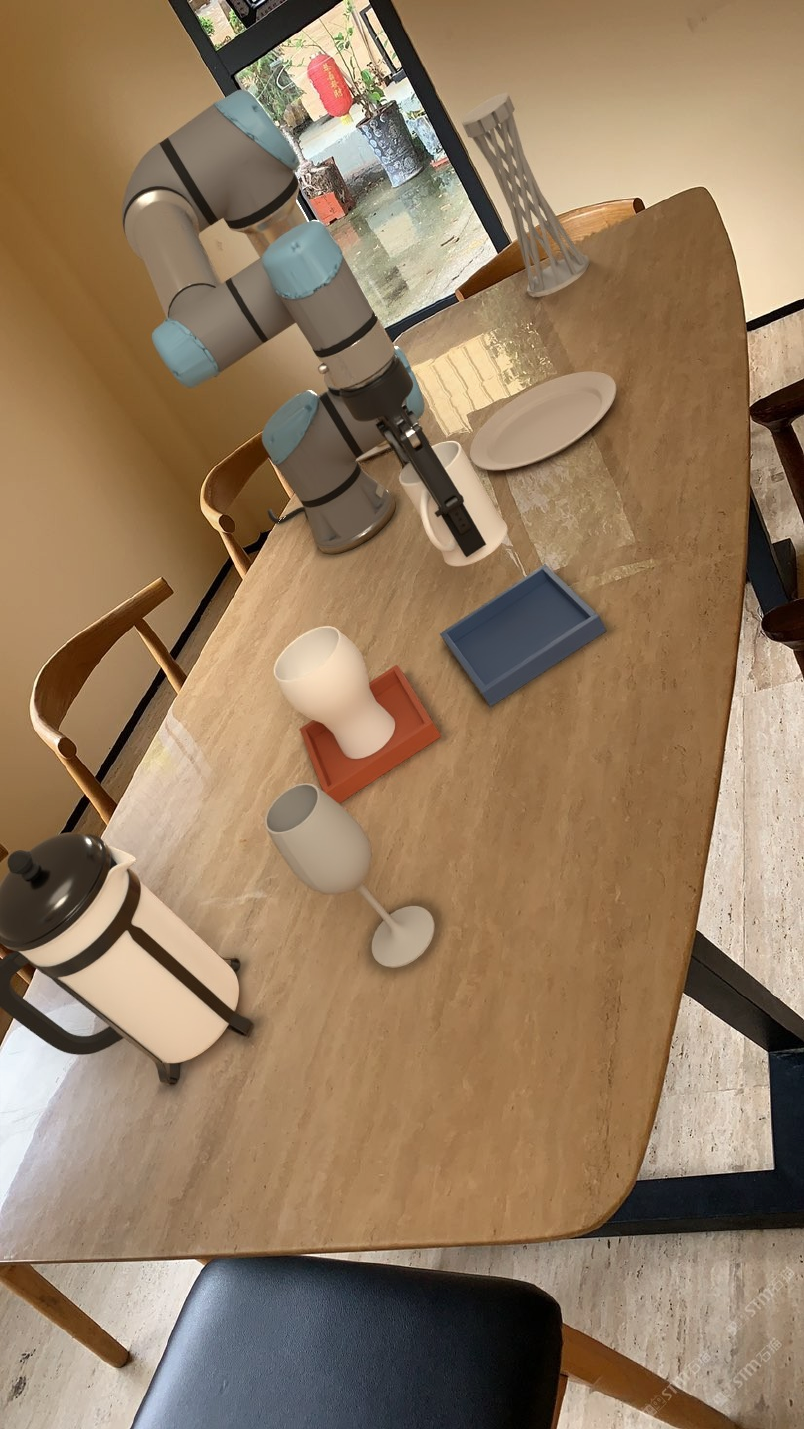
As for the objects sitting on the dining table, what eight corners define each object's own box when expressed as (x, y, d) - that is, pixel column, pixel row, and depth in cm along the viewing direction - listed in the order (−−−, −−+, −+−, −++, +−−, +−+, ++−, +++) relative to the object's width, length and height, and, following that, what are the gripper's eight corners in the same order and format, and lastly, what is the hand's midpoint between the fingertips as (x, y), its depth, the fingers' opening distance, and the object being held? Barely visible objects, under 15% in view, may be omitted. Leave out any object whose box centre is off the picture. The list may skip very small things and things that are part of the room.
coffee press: (193, 950, 121) (16, 786, 104) (287, 974, 110) (106, 796, 94) (105, 1087, 112) (-104, 932, 95) (198, 1127, 102) (-19, 961, 85)
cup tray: (309, 741, 140) (299, 728, 138) (406, 677, 139) (397, 663, 138) (334, 806, 127) (323, 793, 126) (441, 736, 126) (431, 722, 125)
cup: (332, 728, 138) (270, 648, 130) (402, 694, 136) (343, 610, 127) (334, 780, 130) (267, 698, 121) (409, 745, 127) (346, 658, 119)
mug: (484, 579, 118) (435, 495, 112) (424, 589, 124) (374, 510, 117) (517, 515, 125) (473, 432, 118) (459, 527, 130) (413, 448, 124)
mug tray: (448, 646, 139) (439, 633, 138) (552, 577, 138) (544, 563, 137) (490, 707, 125) (481, 693, 124) (606, 630, 124) (599, 615, 123)
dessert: (365, 436, 206) (353, 416, 203) (418, 412, 201) (406, 391, 198) (355, 467, 198) (342, 447, 195) (410, 444, 192) (397, 422, 190)
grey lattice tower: (517, 301, 216) (439, 136, 197) (549, 265, 222) (477, 101, 202) (568, 290, 207) (492, 114, 187) (601, 253, 212) (530, 78, 192)
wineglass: (444, 903, 106) (338, 771, 95) (424, 969, 102) (310, 838, 90) (384, 906, 110) (275, 780, 99) (361, 969, 106) (244, 844, 94)
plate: (646, 409, 157) (641, 397, 156) (500, 499, 160) (495, 489, 159) (585, 366, 178) (581, 356, 177) (458, 447, 181) (452, 437, 180)
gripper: (316, 369, 120) (409, 521, 133) (362, 417, 102) (464, 588, 114) (370, 332, 120) (458, 488, 132) (426, 374, 102) (522, 550, 114)
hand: (461, 534), depth 123 cm, fingers closed on mug, 9 cm apart
